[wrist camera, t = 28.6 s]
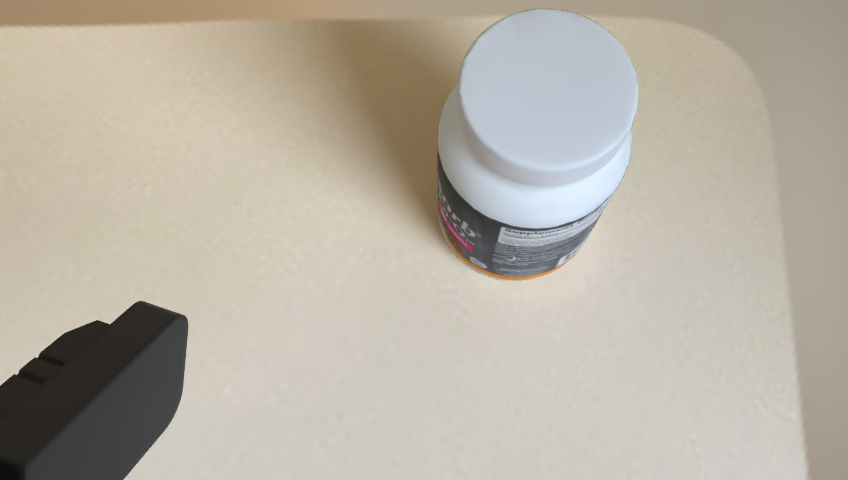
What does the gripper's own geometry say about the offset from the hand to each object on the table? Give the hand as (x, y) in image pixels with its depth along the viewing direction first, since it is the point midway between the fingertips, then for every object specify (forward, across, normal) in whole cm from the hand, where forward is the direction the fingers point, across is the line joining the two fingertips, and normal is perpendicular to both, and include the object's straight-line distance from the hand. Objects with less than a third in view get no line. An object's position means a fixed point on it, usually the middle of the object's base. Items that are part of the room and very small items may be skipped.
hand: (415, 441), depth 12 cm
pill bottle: (+18, 0, +4) cm, 19 cm away
